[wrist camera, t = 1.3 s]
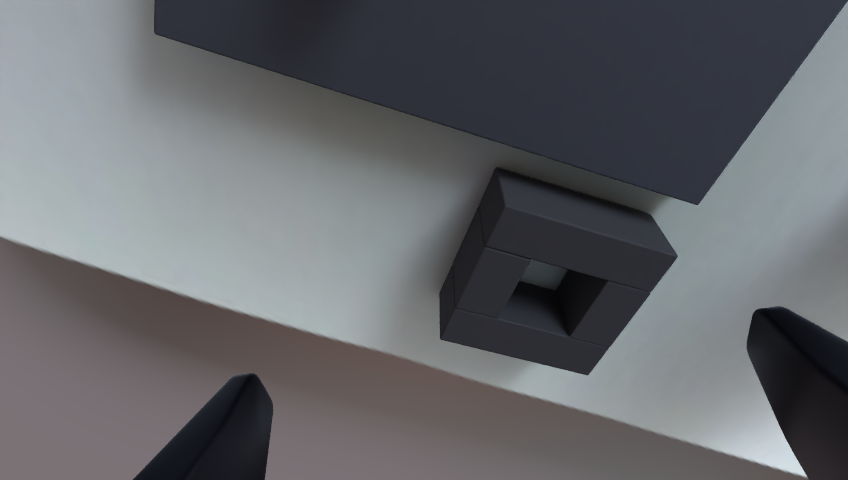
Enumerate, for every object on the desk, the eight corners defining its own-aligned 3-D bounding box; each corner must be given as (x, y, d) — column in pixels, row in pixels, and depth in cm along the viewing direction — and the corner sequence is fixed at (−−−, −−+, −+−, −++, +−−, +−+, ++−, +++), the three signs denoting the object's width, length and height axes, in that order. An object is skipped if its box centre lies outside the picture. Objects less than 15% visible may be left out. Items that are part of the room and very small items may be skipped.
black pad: (651, 213, 22) (679, 256, 19) (573, 328, 25) (588, 376, 23) (496, 166, 20) (504, 204, 18) (438, 293, 24) (439, 340, 22)
